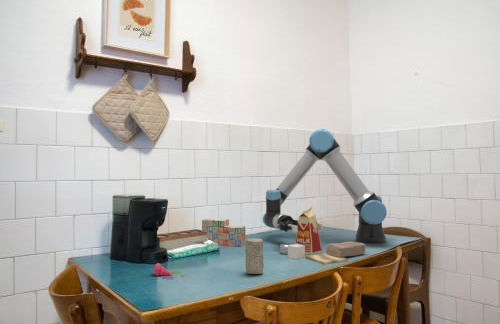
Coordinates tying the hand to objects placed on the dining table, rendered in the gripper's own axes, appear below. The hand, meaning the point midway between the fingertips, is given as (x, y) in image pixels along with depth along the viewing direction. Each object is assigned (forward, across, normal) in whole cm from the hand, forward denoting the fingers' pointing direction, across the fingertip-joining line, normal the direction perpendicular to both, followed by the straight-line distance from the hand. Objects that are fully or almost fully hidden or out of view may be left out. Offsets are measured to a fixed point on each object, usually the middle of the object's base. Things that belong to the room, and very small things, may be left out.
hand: (309, 228), depth 166 cm
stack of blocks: (-37, +25, -11) cm, 46 cm away
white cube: (+4, +10, -11) cm, 16 cm away
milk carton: (-2, 0, -11) cm, 11 cm away
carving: (+19, +38, -11) cm, 43 cm away
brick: (+12, -10, -11) cm, 19 cm away
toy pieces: (+7, +64, -11) cm, 66 cm away
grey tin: (-4, +10, -11) cm, 15 cm away
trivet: (+13, +2, -11) cm, 17 cm away
